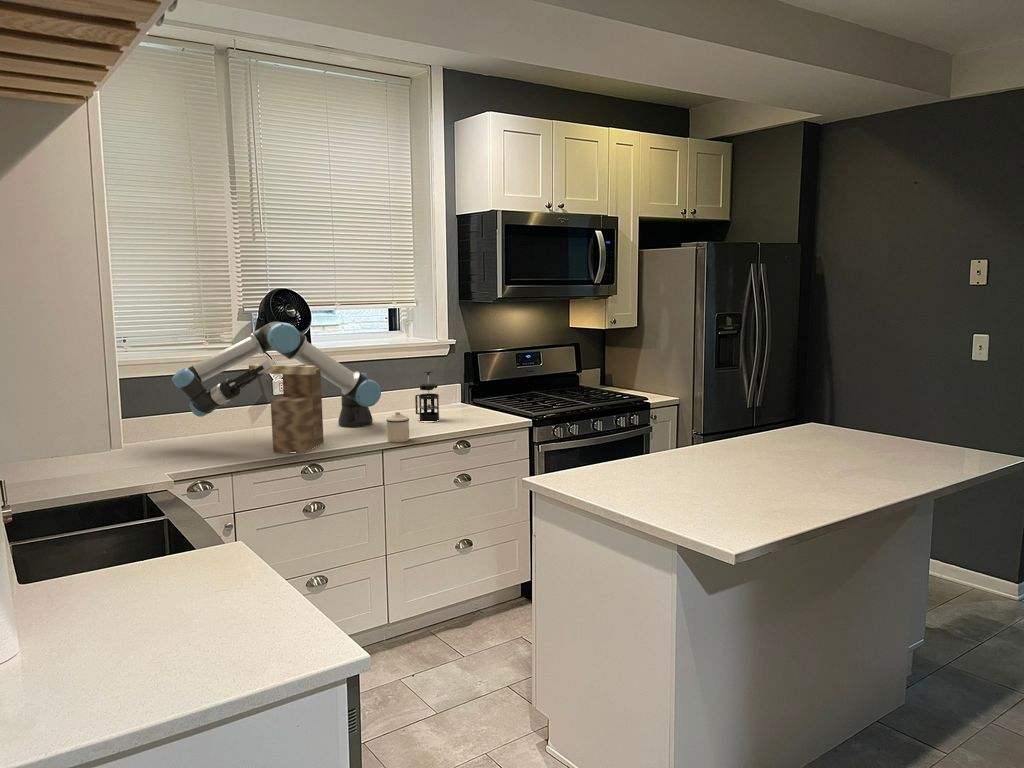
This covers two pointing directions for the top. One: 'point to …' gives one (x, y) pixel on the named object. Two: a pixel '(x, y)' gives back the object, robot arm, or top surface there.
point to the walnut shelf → (298, 414)
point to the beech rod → (288, 369)
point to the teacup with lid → (398, 428)
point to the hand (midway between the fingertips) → (272, 362)
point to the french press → (426, 415)
